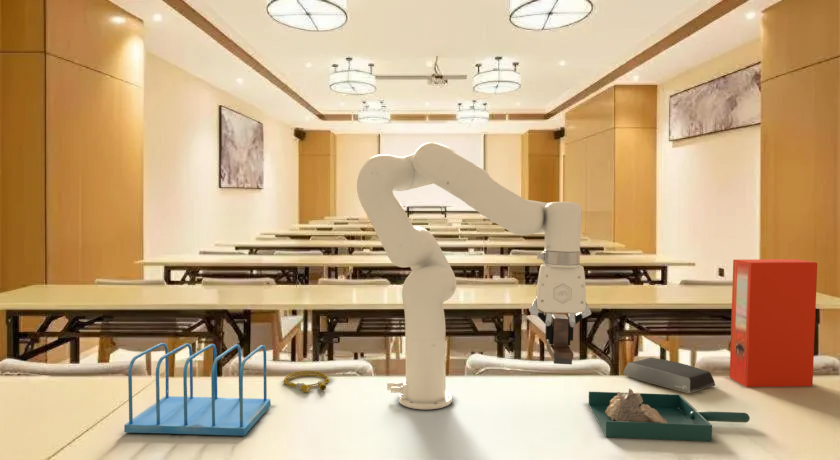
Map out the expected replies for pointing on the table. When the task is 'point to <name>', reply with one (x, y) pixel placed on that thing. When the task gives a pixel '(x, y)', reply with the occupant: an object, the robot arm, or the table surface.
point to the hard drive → (670, 374)
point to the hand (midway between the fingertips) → (558, 342)
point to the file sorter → (198, 403)
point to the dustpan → (669, 406)
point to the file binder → (773, 322)
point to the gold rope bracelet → (303, 386)
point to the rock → (632, 409)
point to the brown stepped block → (560, 340)
